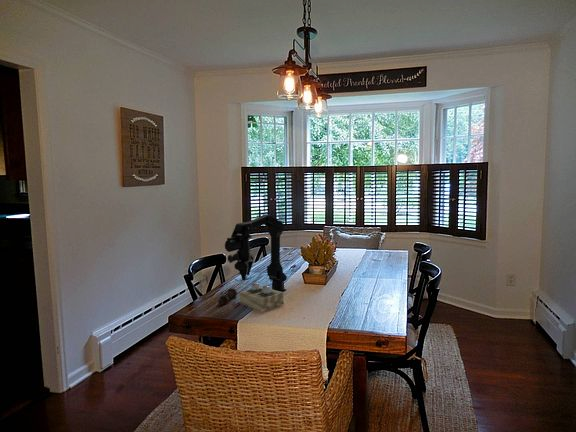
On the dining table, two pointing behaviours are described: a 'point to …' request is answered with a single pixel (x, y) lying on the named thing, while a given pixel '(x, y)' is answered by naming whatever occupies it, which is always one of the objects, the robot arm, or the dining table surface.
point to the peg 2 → (266, 290)
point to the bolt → (227, 296)
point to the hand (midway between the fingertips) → (245, 277)
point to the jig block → (261, 299)
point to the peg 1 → (255, 286)
